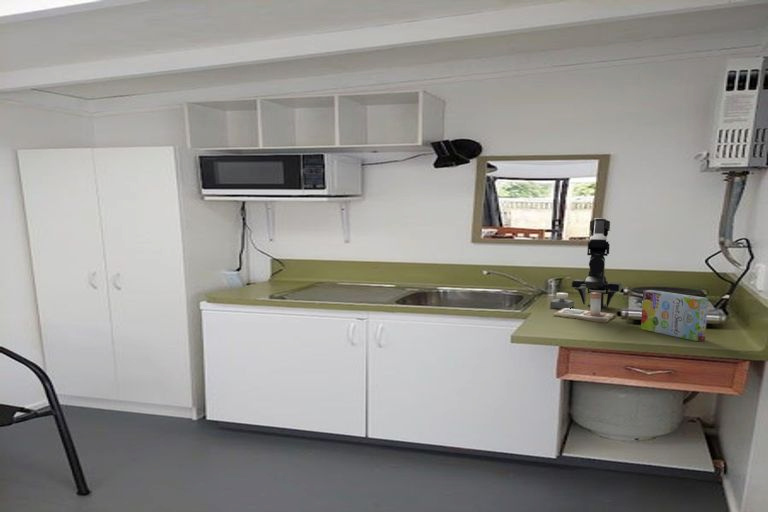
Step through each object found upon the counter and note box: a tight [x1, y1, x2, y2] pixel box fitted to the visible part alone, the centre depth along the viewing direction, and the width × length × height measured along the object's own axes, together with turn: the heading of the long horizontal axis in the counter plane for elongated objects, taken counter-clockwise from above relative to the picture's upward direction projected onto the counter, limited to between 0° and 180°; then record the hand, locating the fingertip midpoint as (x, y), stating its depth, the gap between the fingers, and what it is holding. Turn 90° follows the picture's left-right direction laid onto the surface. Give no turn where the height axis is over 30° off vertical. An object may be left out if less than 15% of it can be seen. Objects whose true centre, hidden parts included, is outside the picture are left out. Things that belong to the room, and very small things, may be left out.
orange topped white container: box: [589, 292, 601, 315], centre depth 212 cm, size 4×4×9 cm
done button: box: [555, 292, 569, 302], centre depth 232 cm, size 5×5×5 cm
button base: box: [549, 298, 575, 310], centre depth 233 cm, size 8×8×3 cm
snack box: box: [640, 289, 709, 342], centre depth 183 cm, size 21×6×15 cm, turn 30°
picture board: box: [553, 308, 616, 323], centre depth 215 cm, size 15×21×1 cm
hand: (595, 305), depth 212 cm, fingers open, 9 cm apart
